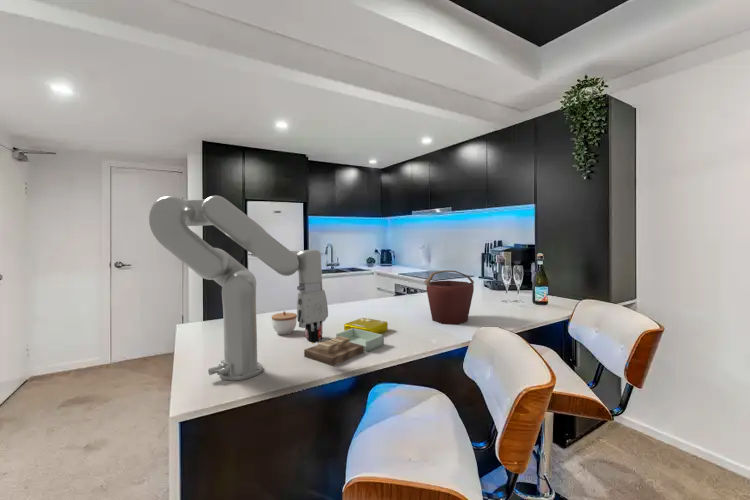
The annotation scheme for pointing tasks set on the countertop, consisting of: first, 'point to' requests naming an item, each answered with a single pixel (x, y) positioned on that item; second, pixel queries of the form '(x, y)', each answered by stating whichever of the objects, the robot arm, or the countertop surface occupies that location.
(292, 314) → the lidded jar
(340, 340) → the oak tile
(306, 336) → the soda can
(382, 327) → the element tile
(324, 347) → the oak tile
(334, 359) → the walnut board
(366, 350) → the tray
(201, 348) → the countertop surface
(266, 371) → the countertop surface
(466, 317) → the bucket
